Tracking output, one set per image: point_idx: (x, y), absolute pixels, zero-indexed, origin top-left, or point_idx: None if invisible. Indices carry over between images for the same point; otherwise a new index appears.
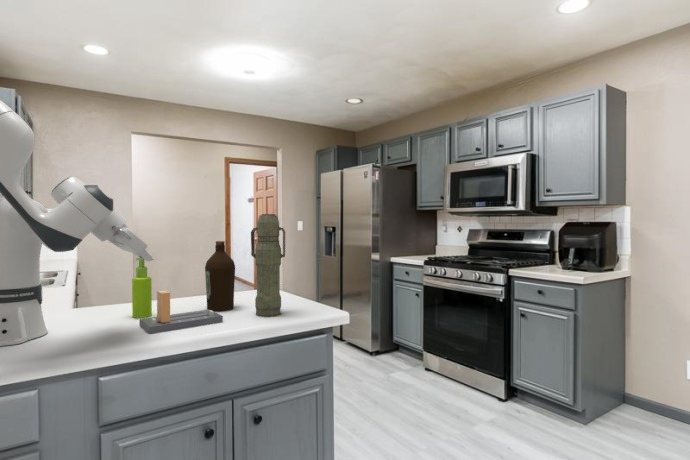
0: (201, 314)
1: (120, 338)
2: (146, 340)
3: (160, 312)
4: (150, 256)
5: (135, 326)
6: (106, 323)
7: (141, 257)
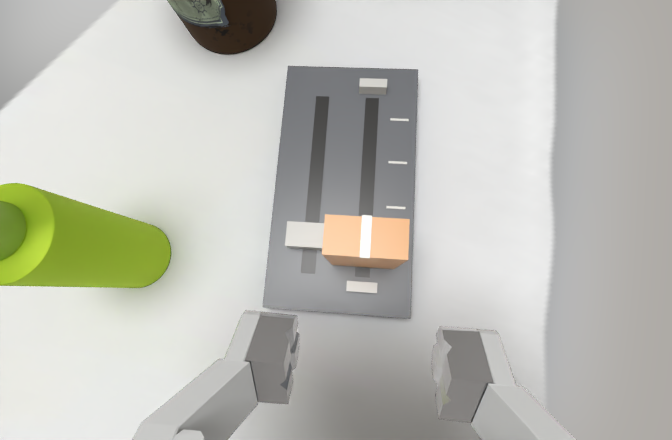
0: (347, 114)
1: (399, 411)
2: None
3: (378, 265)
4: (503, 353)
5: None
6: (155, 389)
7: (290, 377)
